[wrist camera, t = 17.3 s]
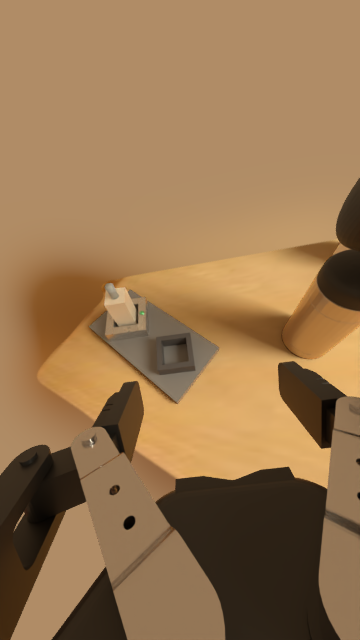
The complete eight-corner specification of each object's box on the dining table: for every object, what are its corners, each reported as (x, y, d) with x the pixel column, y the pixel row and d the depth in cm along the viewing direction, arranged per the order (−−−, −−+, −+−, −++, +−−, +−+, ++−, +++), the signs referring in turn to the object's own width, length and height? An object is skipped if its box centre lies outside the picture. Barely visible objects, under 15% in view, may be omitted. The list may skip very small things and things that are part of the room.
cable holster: (158, 343, 46) (156, 337, 44) (191, 338, 46) (190, 332, 44) (160, 375, 43) (157, 370, 40) (195, 370, 42) (194, 365, 40)
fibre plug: (122, 316, 51) (99, 279, 40) (138, 314, 51) (119, 276, 40) (121, 330, 49) (97, 296, 38) (138, 328, 49) (118, 292, 38)
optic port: (113, 309, 53) (108, 301, 50) (148, 304, 52) (145, 296, 50) (110, 341, 48) (104, 334, 45) (149, 335, 48) (145, 329, 45)
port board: (131, 293, 57) (130, 289, 56) (218, 350, 46) (219, 347, 44) (91, 329, 52) (88, 326, 51) (177, 403, 41) (176, 402, 39)
